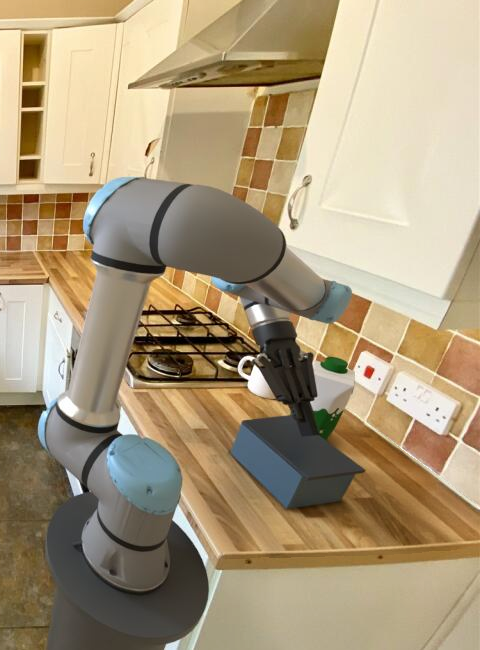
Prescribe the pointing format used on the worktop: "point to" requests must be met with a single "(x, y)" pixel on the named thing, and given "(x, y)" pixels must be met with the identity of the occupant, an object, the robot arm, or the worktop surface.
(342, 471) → the lid
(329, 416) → the milk carton
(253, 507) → the worktop surface
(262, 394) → the cup
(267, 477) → the storage box
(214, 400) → the worktop surface
